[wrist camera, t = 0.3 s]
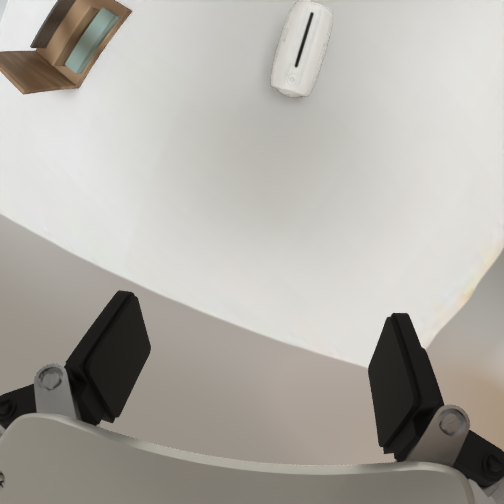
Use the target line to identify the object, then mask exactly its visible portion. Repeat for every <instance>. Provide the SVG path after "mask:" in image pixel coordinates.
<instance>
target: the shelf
mask: <svg viewBox="0 0 504 504" xmlns="http://www.w3.org/2000/svg"><path fill="white" fill-rule="evenodd" d="M131 12H132V11H131V10H129V9H128V8H126V7H124V6H123V5H121V4H120V3H118V2H116V1H114V0H76V1H75V3H74V4H73V6H72V7H71V9H70V10H69V11H68V13H67V14H66V16H65V18H64V19H63V21H62V22H61V24H60V25H59V27H58V29H57V30H56V32H55V33H54V35H53V37H52V38H51V40H50V42H49V44H48V45H47V47H46V48H37V49H36V51H5V52H0V71H1V72H2V73H3V74H4V75H5V77H6V78H7V79H8V80H9V81H10V82H11V83H12V84H13V85H14V86H15V87H16V88H17V89H18V90H19V91H20V92H21V93H22V94H30V93H37V92H45V91H53V90H63V89H74V88H79V87H80V86H81V84H82V82H83V81H84V79H85V77H86V76H87V74H88V72H89V71H90V69H91V68H92V66H93V64H94V63H95V61H96V60H97V58H98V57H99V55H100V54H101V52H102V51H103V49H104V48H105V46H106V45H107V44H108V42H109V41H110V39H111V38H112V37H113V35H114V34H115V33H116V31H117V30H118V29H119V27H120V26H121V25H122V23H123V22H124V21H125V20H126V18H127V17H128V16H129V15H130V13H131Z"/></svg>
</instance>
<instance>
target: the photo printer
mask: <svg viewBox="0 0 504 504" xmlns="http://www.w3.org/2000/svg"><path fill="white" fill-rule="evenodd" d="M332 24H333V12H332V11H331V9H329V8H328V7H326V6H325V5H323V4H318V3H314V2H312V1H309V0H300V1H297V2H296V3H295V4H294V6H293V7H292V8H291V10H290V12H289V15H288V17H287V19H286V22H285V25H284V28H283V31H282V34H281V37H280V40H279V43H278V47H277V50H276V54H275V58H274V62H273V67H272V73H271V86H272V87H274V88H275V89H277V90H278V91H279V92H281V93H282V94H284V95H286V96H289V97H299V96H302V97H307V96H308V95H309V94H310V92H311V90H312V89H313V87H314V84H315V82H316V79H317V76H318V73H319V71H320V68H321V65H322V61H323V58H324V55H325V52H326V48H327V45H328V41H329V37H330V33H331V29H332Z"/></svg>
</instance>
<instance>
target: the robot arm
mask: <svg viewBox="0 0 504 504" xmlns="http://www.w3.org/2000/svg"><path fill="white" fill-rule="evenodd" d="M150 350H151V345H150V342H149V339H148V335H147V331H146V327H145V324H144V320H143V317H142V312H141V309H140V305H139V301H138V298H137V297H136V296H135V295H134V294H133V293H132V292H127V291H118V292H117V293H116V294H115V295H114V296H113V298H112V299H111V300H110V302H109V303H108V304H107V306H106V307H105V308H104V310H103V311H102V312H101V314H100V315H99V317H98V318H97V319H96V320H95V322H94V323H93V325H92V326H91V327H90V329H89V330H88V331H87V333H86V334H85V336H84V337H83V338H82V340H81V341H80V342H79V344H78V345H77V347H76V348H75V350H74V351H73V352H72V354H71V355H70V357H69V358H68V360H67V361H66V365H65V366H64V367H63V366H61V365H59V364H49V365H46V366H44V367H43V368H41V369H40V370H39V371H38V372H37V374H36V376H35V378H34V384H32V385H29V386H26V387H23V388H20V389H17V390H14V391H12V392H9V393H6V394H3V395H1V396H0V504H504V452H503V451H502V450H501V449H500V448H498V447H496V446H495V445H493V444H491V443H490V442H488V441H486V440H485V439H484V438H482V437H480V436H479V435H477V434H476V433H474V432H472V431H471V430H469V428H470V420H469V417H468V415H467V413H466V412H465V411H464V410H463V409H462V408H460V407H458V406H456V405H444V402H443V399H442V396H441V393H440V389H439V386H438V383H437V380H436V378H435V375H434V372H433V369H432V366H431V363H430V360H429V358H428V355H427V353H426V351H425V349H424V348H422V347H421V345H420V342H419V339H418V337H417V334H416V332H415V329H414V327H413V324H412V322H411V319H410V317H409V315H408V314H407V313H393V314H392V315H391V317H387V319H386V321H385V324H384V327H383V330H382V333H381V335H380V338H379V341H378V344H377V346H376V349H375V351H374V354H373V357H372V359H371V362H370V364H369V368H368V375H369V380H370V386H371V392H372V399H373V405H374V412H375V419H376V426H377V434H378V442H379V446H380V447H383V450H384V454H388V453H394V458H395V459H396V461H395V462H394V463H378V464H362V465H327V466H325V465H319V466H318V465H288V464H273V463H261V462H251V461H242V460H234V459H227V458H220V457H214V456H208V455H203V454H197V453H192V452H187V451H182V450H177V449H174V448H169V447H165V446H161V445H157V444H153V443H149V442H145V441H142V440H138V439H135V438H132V437H128V436H125V435H122V434H118V433H115V432H112V431H109V430H106V429H103V428H100V426H99V423H100V421H101V420H104V421H107V422H110V423H113V422H114V420H115V418H116V417H119V416H120V414H121V412H122V410H123V408H124V406H125V404H126V401H127V399H128V397H129V395H130V393H131V391H132V389H133V387H134V385H135V382H136V380H137V378H138V376H139V374H140V372H141V370H142V368H143V366H144V364H145V362H146V360H147V358H148V356H149V354H150Z"/></svg>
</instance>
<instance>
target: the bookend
mask: <svg viewBox="0 0 504 504" xmlns="http://www.w3.org/2000/svg"><path fill="white" fill-rule="evenodd" d="M75 1H76V0H58V1H57V2H56V4H55V5H54V7H53V8H52V10H51V11H50V13H49V15H48V16H47V18H46V20H45V21H44V23H43V24H42V26H41V28H40V30H39V31H38V33H37V35H36V37H35V39H34V40H33V42H32V44H31V46H30V47H31V48H46V47H47V45H48V44H49V42H50V40H51V38H52V37H53V35H54V33H55V32H56V30H57V29H58V27H59V25H60V24H61V22H62V21H63V19H64V18H65V16H66V14H67V13H68V11H69V10H70V9H71V7H72V6H73V4H74V3H75Z"/></svg>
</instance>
